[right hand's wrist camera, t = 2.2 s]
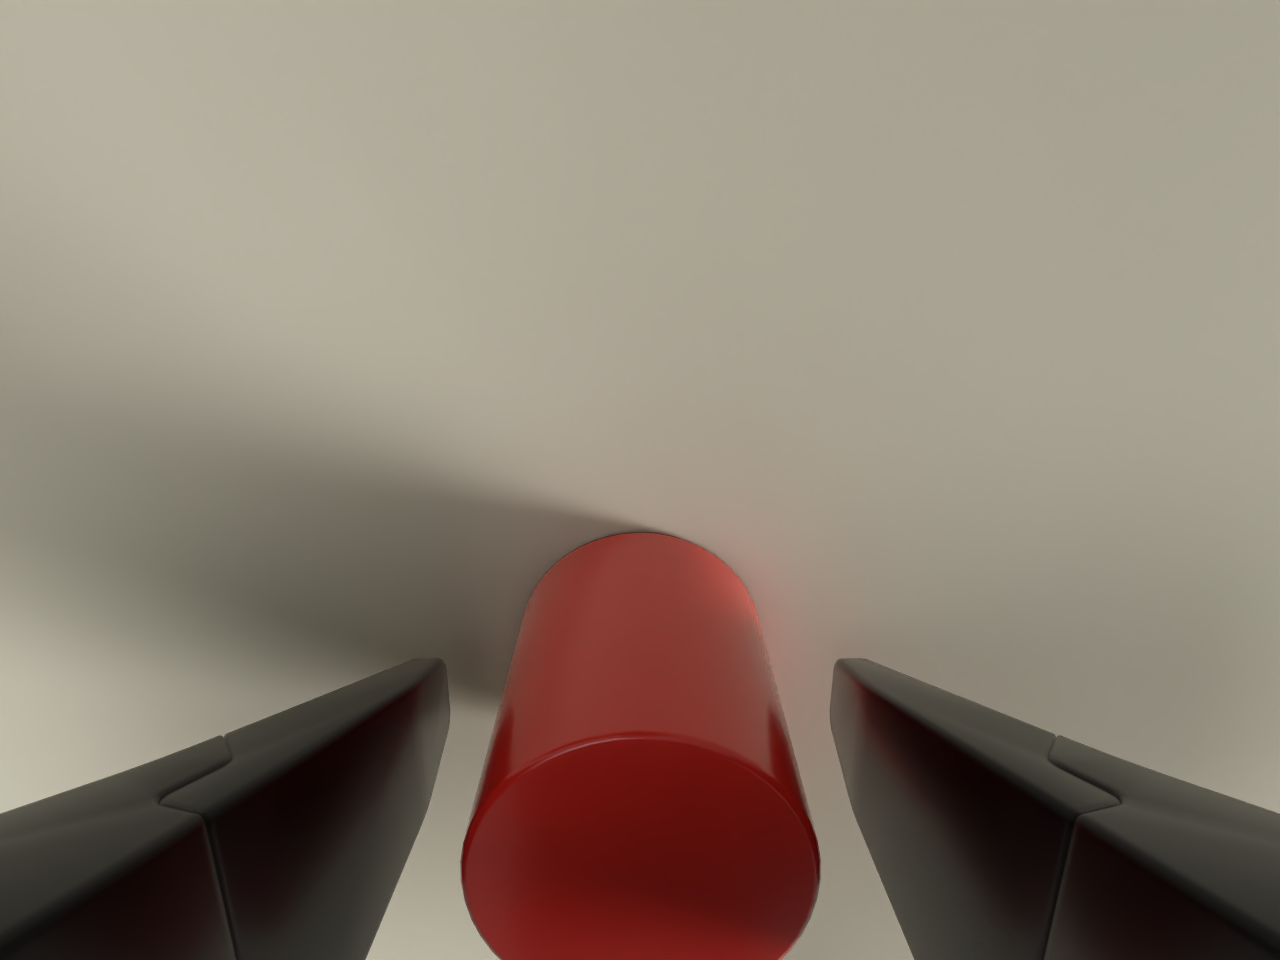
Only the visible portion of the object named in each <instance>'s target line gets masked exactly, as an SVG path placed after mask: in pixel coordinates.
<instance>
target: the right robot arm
mask: <svg viewBox="0 0 1280 960" xmlns="http://www.w3.org/2000/svg"><path fill="white" fill-rule="evenodd" d="M449 723H450V704H449V694H448V683H447V672H446V666H445V663H444V661H443V660H441V659H439V658H419V659H413V660H410V661H408V662H405V663H403V664H400V665H398V666H395V667H393V668H390V669H388V670H385V671H383V672H380V673H378V674H375V675H373V676H370V677H368V678H365V679H363V680H360V681H358V682H355V683H353V684H350V685H348V686H345V687H343V688H340V689H338V690H335V691H333V692H330V693H328V694H325V695H323V696H320V697H318V698H315V699H313V700H310V701H308V702H305V703H303V704H300V705H298V706H295V707H293V708H290V709H288V710H285V711H282V712H280V713H277V714H275V715H272V716H270V717H267V718H265V719H262V720H260V721H257V722H255V723H252V724H250V725H247V726H245V727H242V728H240V729H237V730H235V731H232V732H230V733H227V734H226V735H225V736H224V737H223V736H217V737H214V738H212V739H209V740H207V741H204V742H202V743H199V744H197V745H194V746H192V747H189V748H186V749H184V750H181V751H178V752H176V753H173V754H171V755H168V756H165V757H163V758H160V759H157V760H155V761H152V762H149V763H146V764H143V765H140V766H138V767H135V768H132V769H129V770H126V771H124V772H121V773H118V774H115V775H112V776H109V777H106V778H104V779H101V780H98V781H95V782H92V783H89V784H86V785H83V786H80V787H77V788H74V789H71V790H68V791H65V792H63V793H60V794H57V795H54V796H51V797H48V798H45V799H42V800H39V801H36V802H33V803H30V804H27V805H24V806H21V807H19V808H16V809H13V810H10V811H7V812H4V813H1V814H0V960H365V959H366V957H367V955H368V952H369V950H370V947H371V945H372V943H373V940H374V938H375V935H376V933H377V931H378V928H379V926H380V923H381V921H382V919H383V916H384V914H385V911H386V909H387V907H388V904H389V902H390V899H391V897H392V895H393V892H394V890H395V887H396V885H397V883H398V880H399V878H400V875H401V873H402V870H403V868H404V866H405V863H406V861H407V858H408V856H409V854H410V851H411V849H412V846H413V844H414V842H415V839H416V837H417V834H418V832H419V830H420V827H421V825H422V822H423V820H424V817H425V814H426V812H427V809H428V805H429V802H430V799H431V795H432V791H433V787H434V783H435V780H436V776H437V772H438V768H439V764H440V760H441V756H442V753H443V749H444V745H445V741H446V737H447V733H448V729H449ZM830 723H831V729H832V734H833V737H834V741H835V745H836V749H837V753H838V757H839V761H840V764H841V768H842V772H843V776H844V780H845V784H846V787H847V791H848V795H849V799H850V802H851V806H852V809H853V812H854V814H855V817H856V820H857V822H858V825H859V827H860V830H861V832H862V835H863V837H864V839H865V842H866V844H867V847H868V849H869V851H870V854H871V856H872V859H873V861H874V863H875V866H876V868H877V871H878V873H879V875H880V878H881V880H882V883H883V885H884V887H885V890H886V892H887V895H888V897H889V899H890V902H891V904H892V907H893V909H894V912H895V914H896V916H897V919H898V921H899V924H900V926H901V928H902V931H903V933H904V936H905V938H906V940H907V943H908V945H909V948H910V950H911V952H912V955H913V957H914V960H1280V814H1279V813H1276V812H1273V811H1270V810H1267V809H1264V808H1261V807H1258V806H1255V805H1253V804H1250V803H1247V802H1244V801H1241V800H1238V799H1235V798H1232V797H1229V796H1226V795H1223V794H1220V793H1217V792H1214V791H1212V790H1209V789H1206V788H1203V787H1200V786H1197V785H1194V784H1191V783H1188V782H1185V781H1182V780H1179V779H1176V778H1173V777H1170V776H1168V775H1165V774H1162V773H1159V772H1156V771H1154V770H1151V769H1148V768H1145V767H1142V766H1139V765H1137V764H1134V763H1131V762H1128V761H1125V760H1123V759H1120V758H1117V757H1115V756H1112V755H1109V754H1107V753H1104V752H1101V751H1099V750H1096V749H1094V748H1091V747H1088V746H1086V745H1083V744H1081V743H1078V742H1076V741H1073V740H1071V739H1068V738H1065V737H1063V736H1057V737H1056V736H1055V735H1054V734H1053V733H1050V732H1048V731H1045V730H1043V729H1040V728H1038V727H1035V726H1033V725H1030V724H1028V723H1025V722H1023V721H1020V720H1018V719H1015V718H1012V717H1010V716H1007V715H1005V714H1002V713H1000V712H997V711H995V710H992V709H990V708H987V707H985V706H982V705H980V704H977V703H975V702H972V701H970V700H967V699H965V698H962V697H960V696H957V695H955V694H952V693H950V692H947V691H945V690H942V689H940V688H937V687H935V686H932V685H930V684H927V683H925V682H922V681H920V680H917V679H915V678H912V677H910V676H907V675H905V674H902V673H900V672H897V671H895V670H892V669H890V668H887V667H885V666H882V665H880V664H877V663H875V662H872V661H870V660H867V659H861V658H841V659H839V660H837V661H836V663H835V666H834V672H833V682H832V693H831V704H830Z"/></svg>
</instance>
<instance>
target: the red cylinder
mask: <svg viewBox="0 0 1280 960" xmlns="http://www.w3.org/2000/svg"><path fill="white" fill-rule="evenodd" d="M820 879H821V859H820V853H819V847H818V841H817V837H816V834H815V830H814V826H813V822H812V819H811V815H810V811H809V807H808V803H807V800H806V796H805V792H804V788H803V785H802V781H801V777H800V773H799V770H798V766H797V762H796V758H795V755H794V751H793V747H792V743H791V740H790V736H789V732H788V728H787V724H786V721H785V717H784V713H783V709H782V706H781V702H780V698H779V694H778V691H777V687H776V683H775V679H774V676H773V672H772V668H771V664H770V661H769V657H768V653H767V649H766V645H765V642H764V638H763V634H762V630H761V627H760V623H759V619H758V615H757V612H756V609H755V606H754V603H753V601H752V599H751V597H750V595H749V593H748V591H747V589H746V587H745V586H744V584H743V583H742V582H741V580H740V579H739V577H738V576H737V575H736V574H735V573H734V572H733V571H732V570H731V569H730V568H729V567H728V565H726V564H725V563H724V562H723V561H721V560H720V559H719V558H718V557H716V556H715V555H713V554H712V553H710V552H708V551H707V550H705V549H704V548H702V547H700V546H697V545H695V544H693V543H691V542H688V541H685V540H682V539H679V538H676V537H672V536H667V535H661V534H656V533H627V534H619V535H614V536H609V537H605V538H602V539H599V540H596V541H593V542H590V543H588V544H586V545H584V546H582V547H579V548H577V549H576V550H574V551H572V552H571V553H569V554H568V555H566V556H565V557H563V558H562V559H561V560H560V561H558V562H557V563H556V564H555V565H554V566H552V567H551V569H550V570H549V571H548V572H547V573H546V574H545V575H544V576H543V577H542V579H541V580H540V582H539V583H538V584H537V586H536V587H535V589H534V591H533V593H532V595H531V597H530V599H529V601H528V603H527V606H526V609H525V612H524V615H523V619H522V623H521V627H520V630H519V634H518V638H517V642H516V646H515V649H514V653H513V657H512V661H511V664H510V668H509V672H508V676H507V680H506V683H505V687H504V691H503V695H502V699H501V702H500V706H499V710H498V714H497V717H496V721H495V725H494V729H493V733H492V736H491V740H490V744H489V748H488V752H487V755H486V759H485V763H484V767H483V771H482V774H481V778H480V782H479V786H478V789H477V793H476V797H475V801H474V805H473V808H472V812H471V816H470V820H469V824H468V827H467V831H466V835H465V839H464V842H463V848H462V855H461V884H462V889H463V894H464V899H465V903H466V905H467V908H468V911H469V914H470V916H471V919H472V921H473V923H474V925H475V927H476V929H477V930H478V932H479V934H480V936H481V937H482V939H483V940H484V941H485V943H486V944H487V945H488V946H489V948H490V949H491V950H492V952H493V953H494V954H495V955H496V956H497V957H498V958H499V959H500V960H781V959H782V958H783V957H784V956H785V955H786V954H787V953H788V952H789V951H790V950H791V948H792V947H793V946H794V944H795V943H796V942H797V940H798V939H799V937H800V936H801V935H802V933H803V931H804V929H805V927H806V925H807V924H808V922H809V920H810V918H811V915H812V912H813V909H814V906H815V903H816V900H817V896H818V891H819V885H820Z"/></svg>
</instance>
